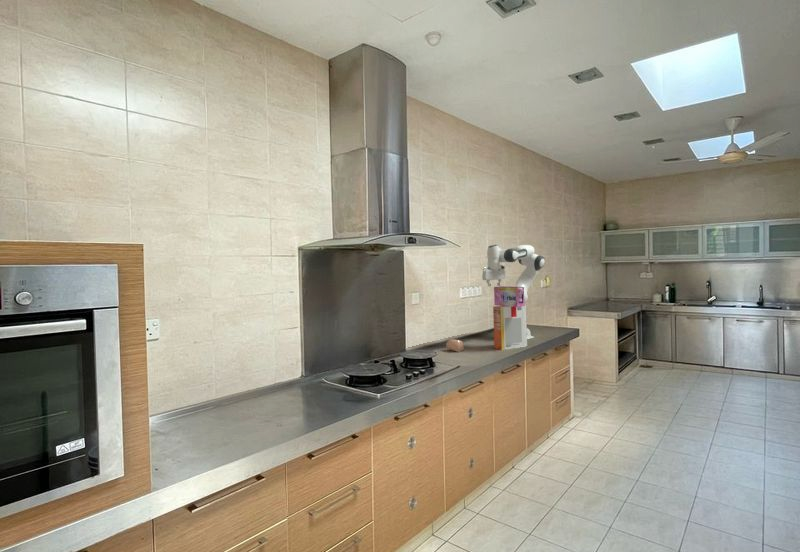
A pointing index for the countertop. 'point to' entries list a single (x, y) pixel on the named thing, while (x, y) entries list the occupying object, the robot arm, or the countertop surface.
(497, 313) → the pasta box
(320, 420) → the countertop surface
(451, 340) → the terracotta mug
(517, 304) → the pink purple package
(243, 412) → the countertop surface
